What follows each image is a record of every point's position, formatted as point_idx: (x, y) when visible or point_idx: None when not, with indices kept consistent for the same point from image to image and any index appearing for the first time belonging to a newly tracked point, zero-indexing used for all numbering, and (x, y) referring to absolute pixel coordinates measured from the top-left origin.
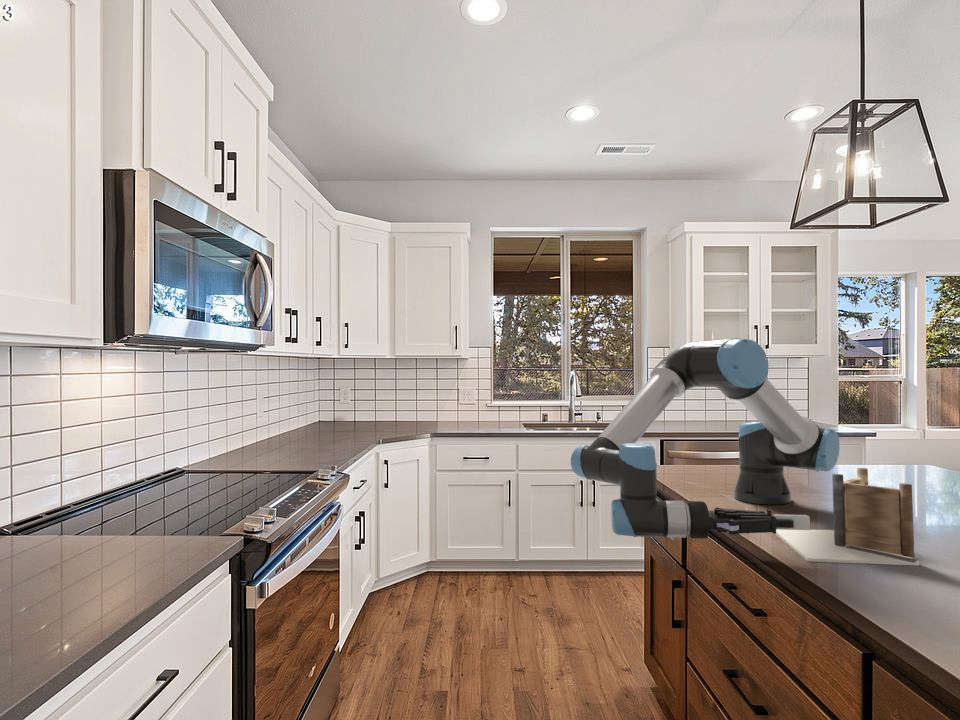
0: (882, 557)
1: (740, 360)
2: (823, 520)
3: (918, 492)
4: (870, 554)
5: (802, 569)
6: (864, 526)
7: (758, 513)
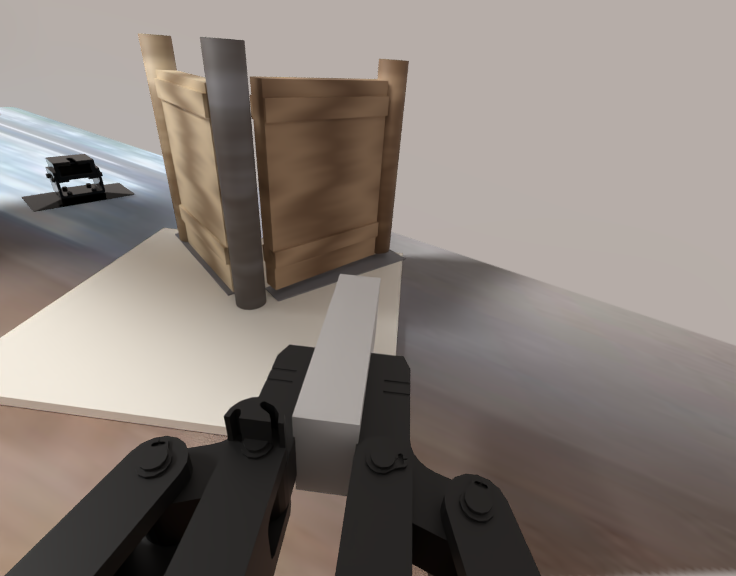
0: None
1: None
2: (5, 240)
3: (15, 127)
4: None
5: None
6: (314, 219)
7: (196, 533)
